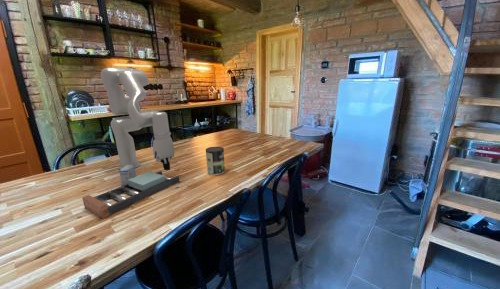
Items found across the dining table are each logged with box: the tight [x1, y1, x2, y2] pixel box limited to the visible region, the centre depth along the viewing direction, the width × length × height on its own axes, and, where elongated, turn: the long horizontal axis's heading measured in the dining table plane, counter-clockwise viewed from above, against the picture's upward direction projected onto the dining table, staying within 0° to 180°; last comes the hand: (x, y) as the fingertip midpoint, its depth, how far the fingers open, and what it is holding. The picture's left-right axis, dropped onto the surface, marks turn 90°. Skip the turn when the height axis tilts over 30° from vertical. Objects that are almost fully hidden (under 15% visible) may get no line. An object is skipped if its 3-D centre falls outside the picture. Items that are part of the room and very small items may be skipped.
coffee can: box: [205, 146, 226, 176], centre depth 127 cm, size 10×10×14 cm
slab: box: [128, 171, 166, 192], centre depth 109 cm, size 12×12×3 cm
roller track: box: [81, 170, 181, 219], centre depth 104 cm, size 15×38×5 cm, turn 148°
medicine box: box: [119, 165, 137, 186], centre depth 116 cm, size 8×4×9 cm, turn 5°
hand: (167, 169), depth 117 cm, fingers closed
